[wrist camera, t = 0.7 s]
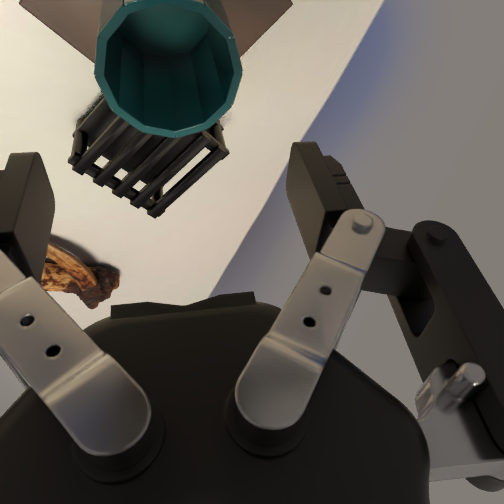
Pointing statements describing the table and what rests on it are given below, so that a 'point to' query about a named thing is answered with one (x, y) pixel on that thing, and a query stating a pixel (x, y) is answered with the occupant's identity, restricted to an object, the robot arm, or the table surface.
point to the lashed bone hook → (77, 277)
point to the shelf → (89, 10)
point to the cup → (167, 63)
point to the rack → (141, 157)
